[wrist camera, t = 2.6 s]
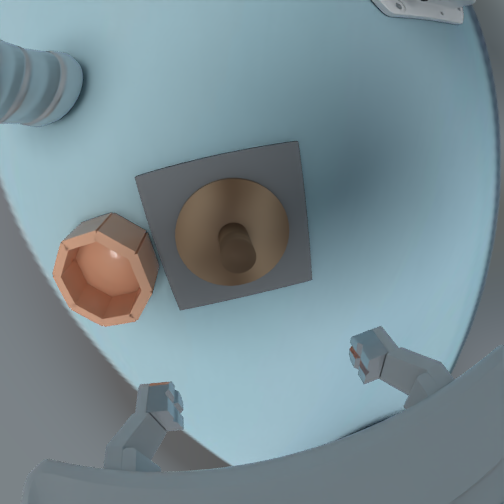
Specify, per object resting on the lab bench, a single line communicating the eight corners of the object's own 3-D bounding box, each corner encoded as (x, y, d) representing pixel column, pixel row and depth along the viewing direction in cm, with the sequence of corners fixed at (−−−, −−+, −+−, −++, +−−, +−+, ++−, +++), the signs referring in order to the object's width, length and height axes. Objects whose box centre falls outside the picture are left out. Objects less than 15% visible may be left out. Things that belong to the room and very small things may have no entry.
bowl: (138, 204, 22) (125, 221, 18) (168, 288, 26) (163, 316, 22) (60, 229, 22) (40, 248, 18) (95, 303, 26) (82, 330, 22)
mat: (296, 141, 22) (298, 141, 21) (310, 276, 28) (312, 279, 28) (136, 176, 21) (134, 177, 21) (180, 306, 28) (180, 310, 27)
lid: (278, 166, 22) (296, 177, 18) (292, 267, 27) (308, 294, 23) (162, 194, 22) (152, 211, 17) (193, 291, 26) (193, 323, 22)
